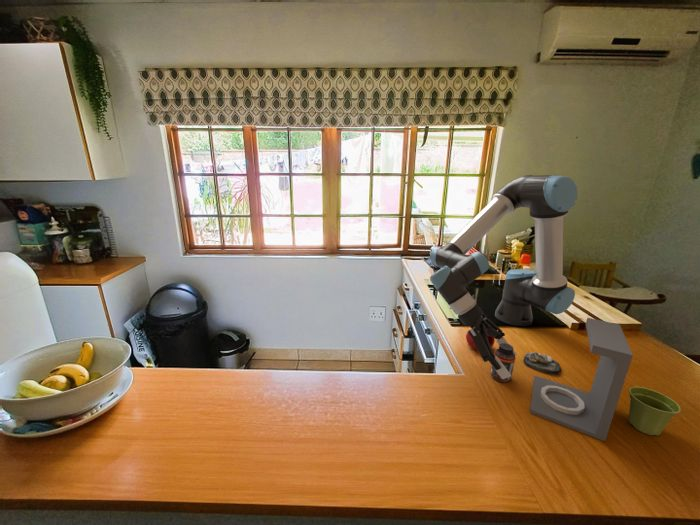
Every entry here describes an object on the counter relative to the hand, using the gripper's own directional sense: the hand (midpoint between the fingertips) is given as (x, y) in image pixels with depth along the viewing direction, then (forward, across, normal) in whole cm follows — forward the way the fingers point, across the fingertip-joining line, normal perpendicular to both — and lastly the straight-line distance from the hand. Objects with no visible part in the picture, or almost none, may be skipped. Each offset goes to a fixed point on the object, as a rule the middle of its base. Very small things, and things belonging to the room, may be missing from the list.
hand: (510, 366), depth 93 cm
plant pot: (+26, 0, +19) cm, 32 cm away
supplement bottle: (+2, 0, -5) cm, 6 cm away
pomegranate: (-5, -15, -12) cm, 20 cm away
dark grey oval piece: (+10, -16, +2) cm, 19 cm away
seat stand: (+14, +3, +7) cm, 16 cm away
